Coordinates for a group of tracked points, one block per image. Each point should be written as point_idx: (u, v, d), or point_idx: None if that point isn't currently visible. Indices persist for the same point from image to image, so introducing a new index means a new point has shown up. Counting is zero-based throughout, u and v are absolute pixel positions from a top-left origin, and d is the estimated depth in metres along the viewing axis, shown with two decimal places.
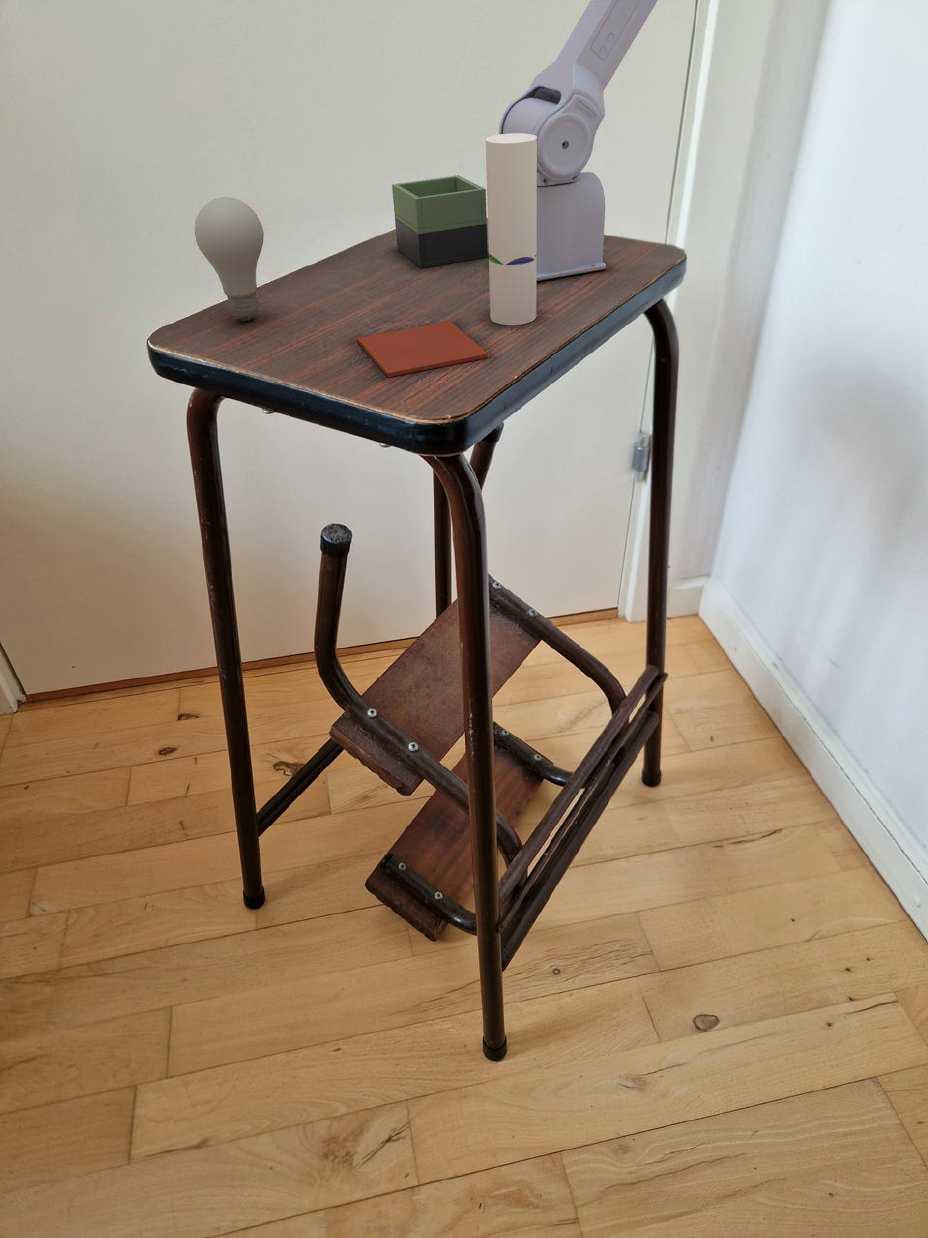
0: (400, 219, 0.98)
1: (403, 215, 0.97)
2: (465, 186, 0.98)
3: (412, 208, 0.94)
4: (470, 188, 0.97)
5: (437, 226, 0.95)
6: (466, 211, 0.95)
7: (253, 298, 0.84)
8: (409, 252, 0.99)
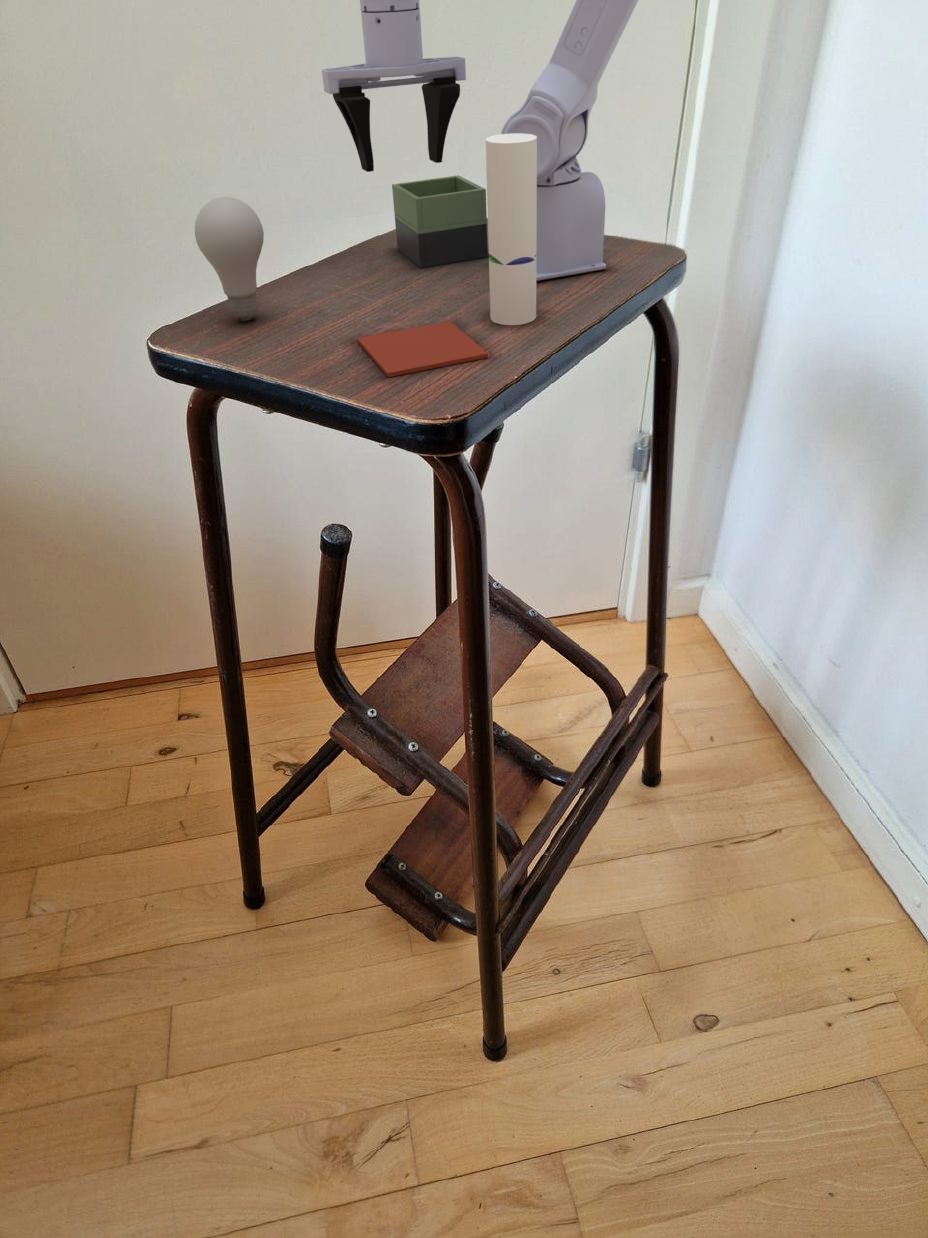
0: (400, 219, 0.98)
1: (403, 215, 0.97)
2: (465, 186, 0.98)
3: (412, 208, 0.94)
4: (470, 188, 0.97)
5: (437, 226, 0.95)
6: (466, 211, 0.95)
7: (253, 298, 0.84)
8: (409, 252, 0.99)
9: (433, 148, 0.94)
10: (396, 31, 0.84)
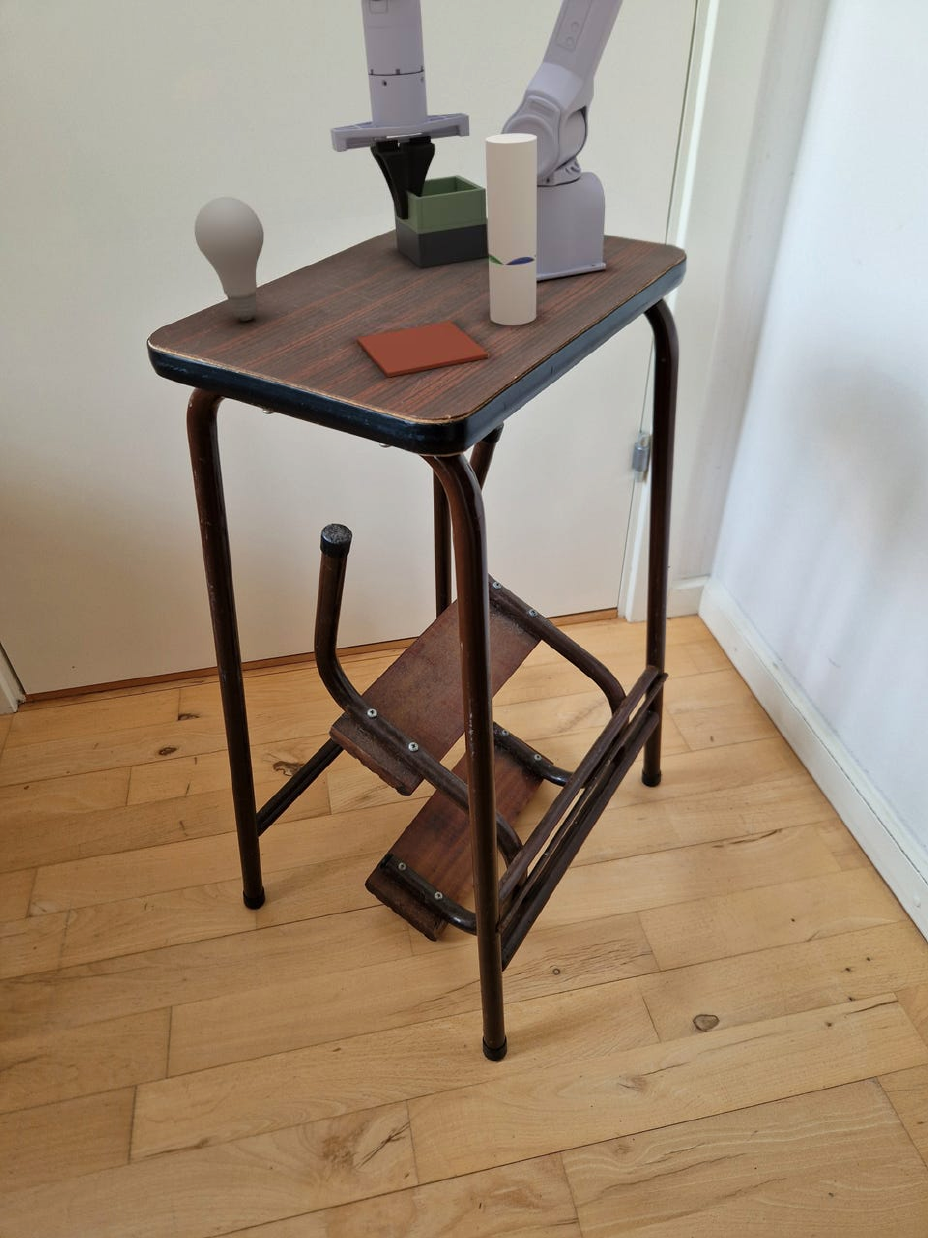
0: (400, 219, 0.98)
1: None
2: (465, 186, 0.98)
3: (412, 208, 0.94)
4: (470, 188, 0.97)
5: (437, 226, 0.95)
6: (466, 211, 0.95)
7: (253, 298, 0.84)
8: (409, 252, 0.99)
9: None
10: (401, 92, 0.87)
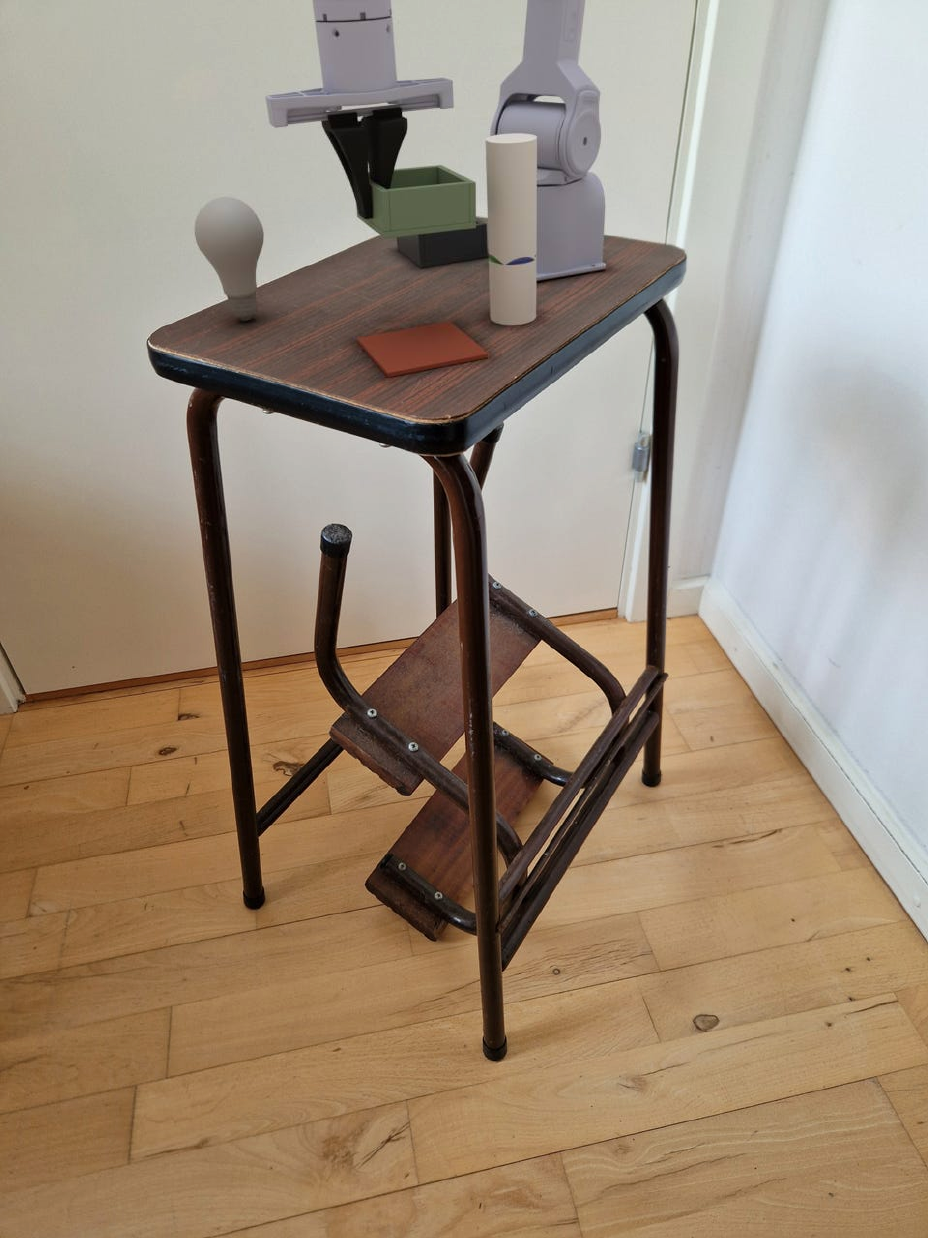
0: (363, 219, 0.75)
1: None
2: (449, 179, 0.75)
3: (377, 204, 0.71)
4: (455, 181, 0.74)
5: (410, 228, 0.72)
6: (449, 211, 0.72)
7: (253, 298, 0.84)
8: (409, 252, 0.99)
9: None
10: (359, 46, 0.64)
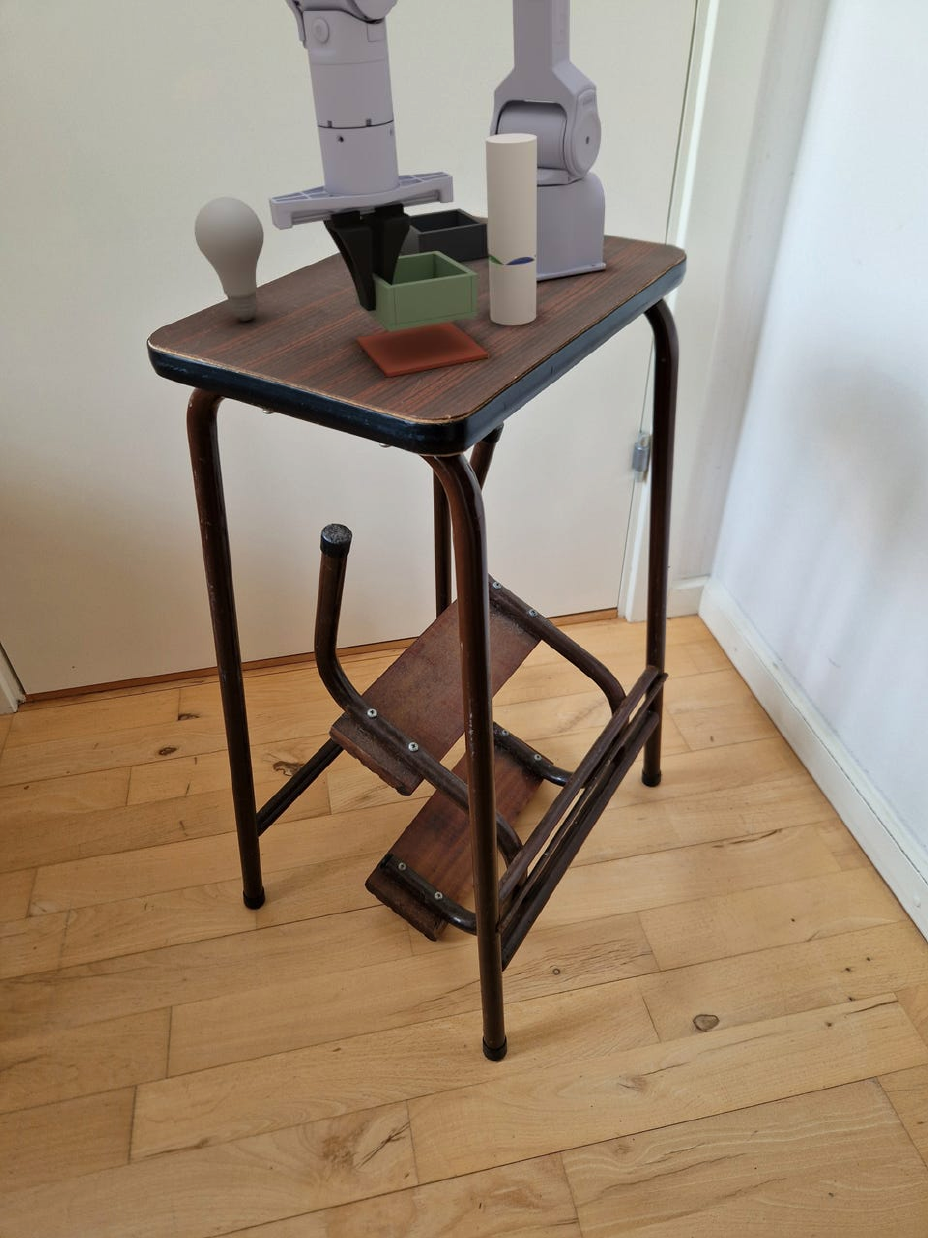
0: None
1: None
2: (449, 268, 0.75)
3: (382, 299, 0.71)
4: (455, 271, 0.74)
5: (415, 321, 0.72)
6: (452, 302, 0.72)
7: (253, 298, 0.84)
8: (409, 252, 0.99)
9: None
10: (364, 151, 0.64)
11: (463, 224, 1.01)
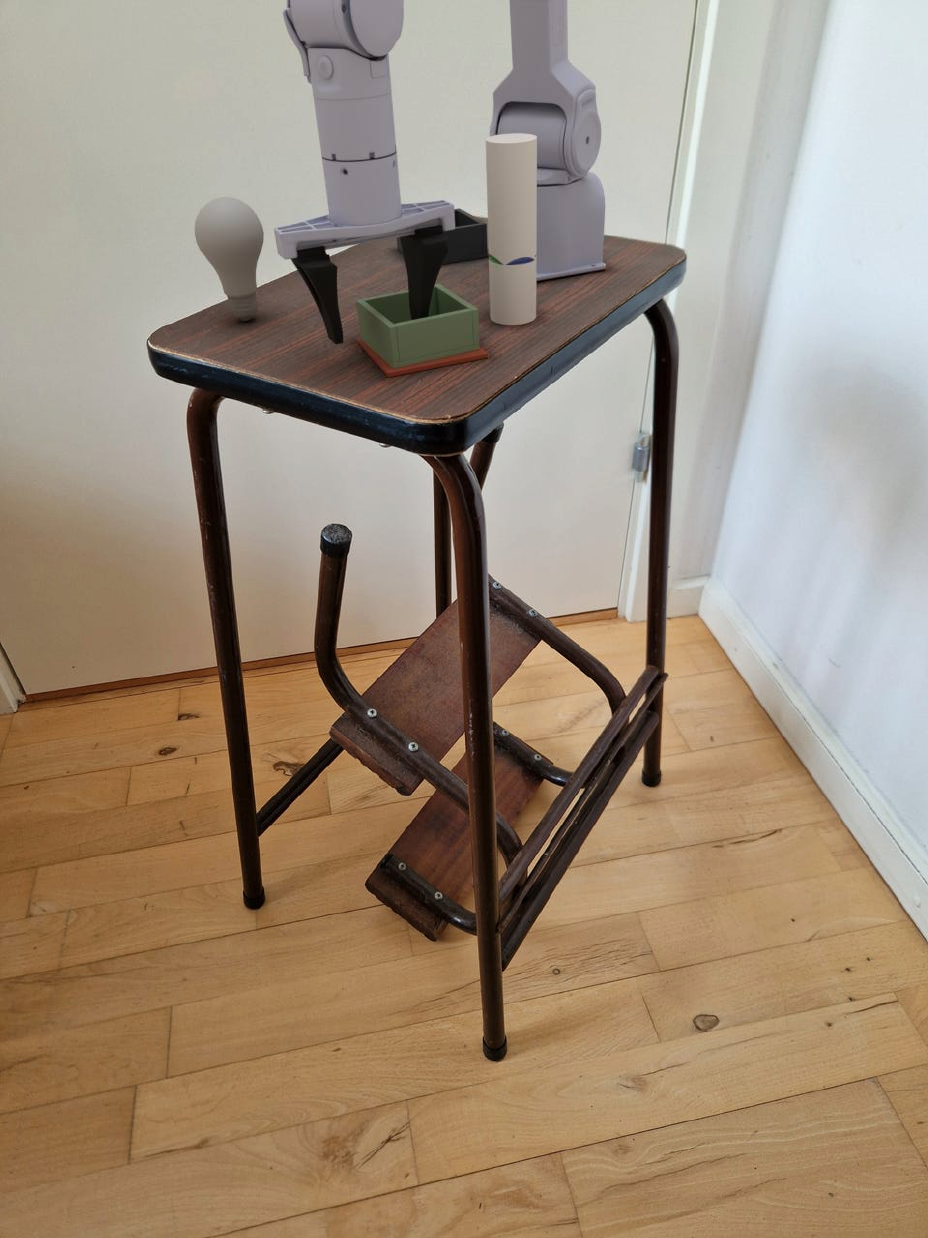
0: (368, 343, 0.77)
1: (372, 340, 0.76)
2: (450, 301, 0.77)
3: (385, 337, 0.73)
4: (457, 305, 0.76)
5: (418, 357, 0.74)
6: (454, 337, 0.74)
7: (253, 298, 0.84)
8: None
9: (416, 309, 0.75)
10: (367, 183, 0.66)
11: (463, 224, 1.01)
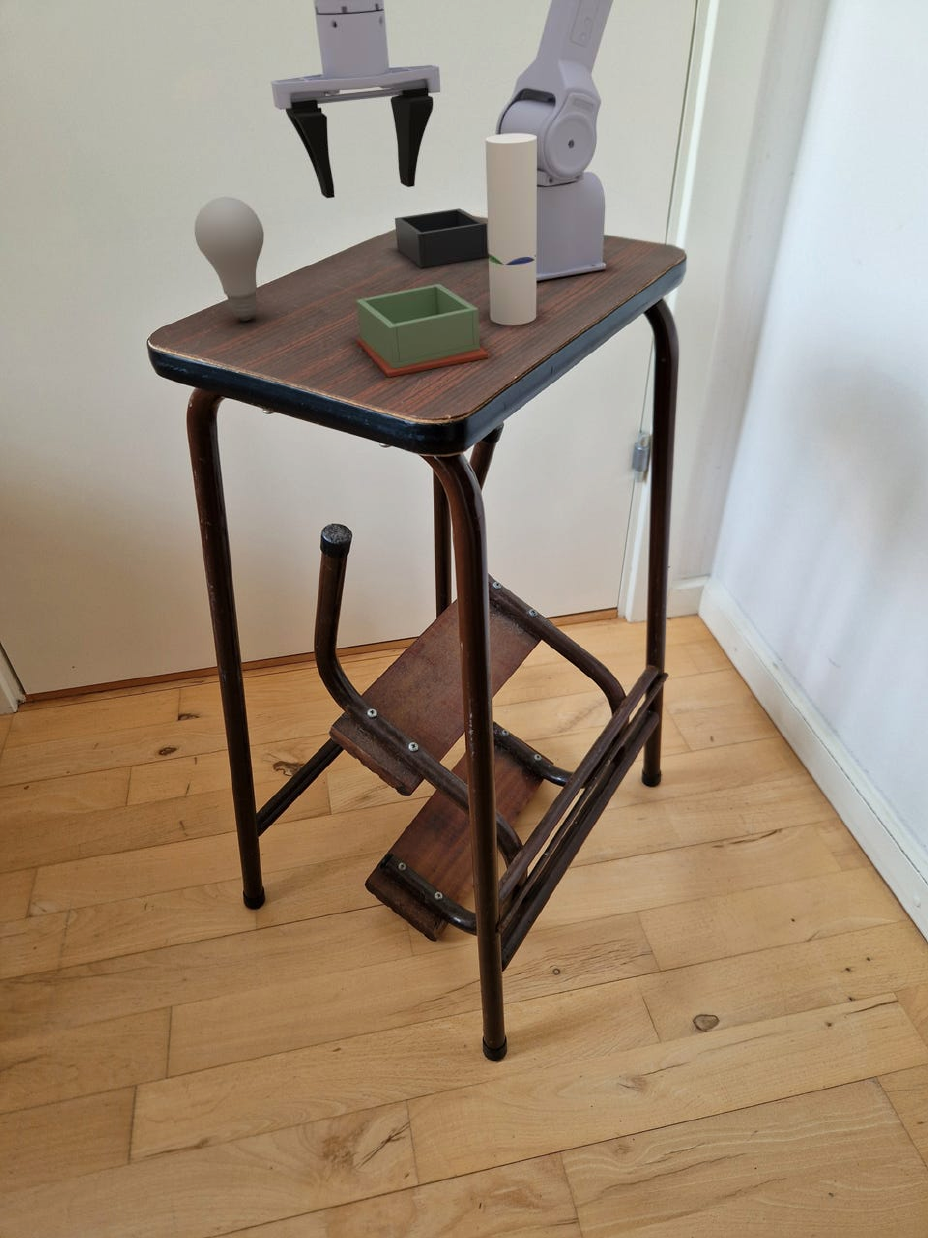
0: (368, 343, 0.77)
1: (372, 340, 0.76)
2: (450, 301, 0.77)
3: (385, 337, 0.73)
4: (457, 305, 0.76)
5: (418, 357, 0.74)
6: (454, 337, 0.74)
7: (253, 298, 0.84)
8: (409, 252, 0.99)
9: (404, 170, 0.81)
10: (355, 36, 0.72)
11: (463, 224, 1.01)
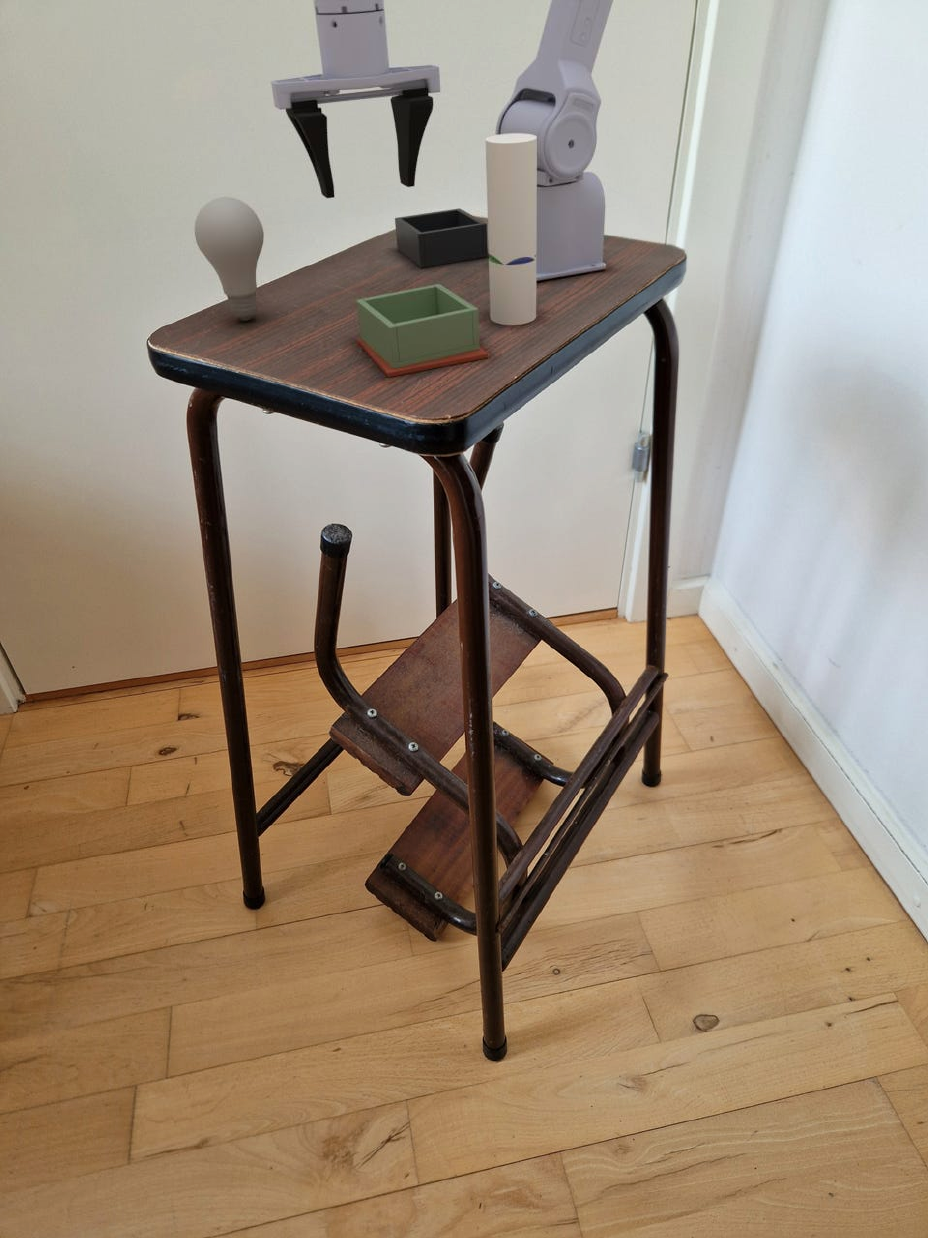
0: (368, 343, 0.77)
1: (372, 340, 0.76)
2: (450, 301, 0.77)
3: (385, 337, 0.73)
4: (457, 305, 0.76)
5: (418, 357, 0.74)
6: (454, 337, 0.74)
7: (253, 298, 0.84)
8: (409, 252, 0.99)
9: (404, 170, 0.81)
10: (355, 36, 0.72)
11: (463, 224, 1.01)
